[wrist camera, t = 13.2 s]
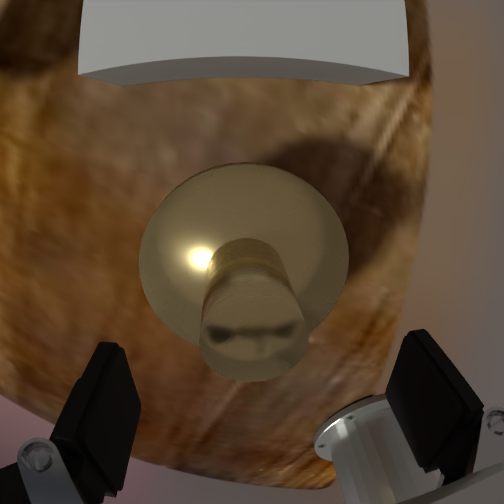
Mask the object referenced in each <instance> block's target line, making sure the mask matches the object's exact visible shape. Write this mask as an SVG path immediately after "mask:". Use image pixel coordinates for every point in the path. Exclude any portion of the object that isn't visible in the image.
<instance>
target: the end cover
mask: <svg viewBox="0 0 504 504" xmlns="http://www.w3.org/2000/svg"><path fill="white" fill-rule="evenodd" d="M348 265H349V250H348V243H347V238H346V234H345V231H344V228H343V226H342V223H341V221H340V219H339V217H338V215H337V214H336V212H335V210H334V209H333V207H332V206H331V205H330V204H329V202H328V201H327V200H326V199H325V198H324V197H323V196H322V195H321V194H320V193H319V192H318V191H317V190H316V189H315V188H314V187H312V186H311V185H310V184H308V183H307V182H306V181H304V180H303V179H301V178H300V177H298V176H296V175H294V174H292V173H291V172H289V171H287V170H284V169H281V168H278V167H275V166H272V165H267V164H261V163H251V162H239V163H228V164H224V165H219V166H215V167H212V168H209V169H206V170H204V171H201V172H199V173H197V174H195V175H193V176H192V177H190V178H188V179H186V180H185V181H184V182H182V183H181V184H180V185H178V186H177V187H176V188H175V189H174V190H173V191H172V192H171V193H170V194H169V195H168V196H167V197H166V198H165V199H164V200H163V202H162V203H161V204H160V206H159V207H158V208H157V210H156V211H155V212H154V214H153V215H152V217H151V219H150V221H149V223H148V225H147V227H146V229H145V232H144V235H143V238H142V242H141V247H140V252H139V272H140V279H141V283H142V287H143V290H144V293H145V295H146V298H147V300H148V302H149V304H150V306H151V307H152V309H153V311H154V312H155V313H156V315H157V316H158V317H159V319H160V320H161V321H162V322H163V323H164V324H165V325H166V326H167V327H168V328H169V329H170V330H171V331H173V332H174V333H175V334H176V335H178V336H179V337H181V338H182V339H184V340H186V341H187V342H189V343H191V344H193V345H195V346H198V347H199V348H200V352H201V355H202V357H203V359H204V360H205V362H206V363H207V364H208V366H209V367H210V368H211V369H213V370H214V371H215V372H217V373H218V374H220V375H222V376H224V377H226V378H229V379H232V380H237V381H243V382H257V381H264V380H269V379H272V378H275V377H277V376H280V375H282V374H284V373H285V372H287V371H289V370H290V369H291V368H292V367H294V366H295V365H296V364H297V363H298V362H299V361H300V359H301V358H302V357H303V355H304V353H305V351H306V348H307V345H308V337H309V336H308V334H309V333H310V332H311V331H313V330H314V329H315V328H316V327H317V326H318V325H319V324H321V323H322V321H323V320H324V319H325V318H326V317H327V316H328V315H329V313H330V312H331V311H332V309H333V308H334V306H335V305H336V303H337V301H338V299H339V297H340V295H341V293H342V291H343V288H344V285H345V282H346V278H347V273H348Z"/></svg>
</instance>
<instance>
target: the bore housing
mask: <svg viewBox="0 0 504 504" xmlns="http://www.w3.org/2000/svg"><path fill="white" fill-rule="evenodd" d="M78 75H81V76H85V77H89V78H93V79H97V80H101V81H105V82H109V83H112V84H116V85H119V86H127V85H134V84H141V83H150V82H159V81H169V80H181V79H196V78H221V77H262V78H286V79H302V80H314V81H324V82H333V83H341V84H349V85H356V86H359V85H364V84H369V83H374V82H379V81H385V80H391V79H397V78H403V77H409V53H408V34H407V21H406V10H405V1H404V0H84V2H83V10H82V19H81V29H80V42H79V59H78Z"/></svg>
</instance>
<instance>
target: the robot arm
mask: <svg viewBox="0 0 504 504" xmlns="http://www.w3.org/2000/svg"><path fill="white" fill-rule="evenodd" d="M483 407H484V405H483V403H482V402H481V401H480V399H479V398H478V396H477V395H476V394H475V392H474V391H473V390H472V388H471V387H470V386H469V384H468V383H467V381H466V380H465V379H464V377H463V376H462V375H461V373H460V372H459V371H458V369H457V368H456V367H455V366H454V364H453V363H452V362H451V360H450V359H449V358H448V357H447V355H446V354H445V353H444V351H443V350H442V349H441V348H440V347H439V345H438V344H437V343H436V342H435V340H434V339H433V338H432V337H431V335H430V334H429V333H428V332H427V331H426V330H425V329H420V330H413V331H410V332H409V333H408V334H407V336H405V337H404V339H403V342H402V344H401V348H400V351H399V354H398V357H397V360H396V363H395V366H394V369H393V371H392V374H391V377H390V380H389V382H388V385H387V388H386V392H385V393H384V394H380V395H375V396H372V397H369V398H366V399H363V400H361V401H359V402H356V403H354V404H352V405H350V406H348V407H346V408H344V409H343V410H341V411H340V412H338V413H336V414H335V415H333V416H332V417H331V418H330V419H328V420H327V421H326V422H325V423H324V424H323V425H322V426H321V427H320V428H319V430H318V431H317V433H316V434H315V437H314V440H313V443H314V448H315V451H316V453H317V455H318V456H319V457H321V458H323V459H326V460H329V461H333V464H334V467H335V471H336V475H337V478H338V481H339V485H340V489H341V492H342V496H343V499H344V504H504V408H502V407H491V408H489V409H487V410H486V411H485V413H484V411H483V410H482V409H483ZM140 413H141V402H140V399H139V396H138V393H137V390H136V387H135V384H134V381H133V378H132V375H131V371H130V368H129V365H128V362H127V358H126V355H125V351H124V349H123V348H122V347H119V345H118V344H117V343H112V342H100V343H99V344H98V346H97V348H96V350H95V352H94V353H93V355H92V357H91V359H90V361H89V363H88V365H87V367H86V369H85V371H84V373H83V375H82V377H81V378H80V379H78V380H77V381H76V383H75V385H74V387H73V389H72V391H71V393H70V395H69V397H68V399H67V401H66V403H65V406H64V408H63V410H62V412H61V414H60V416H59V418H58V421H57V423H56V425H55V427H54V430H53V432H52V434H51V436H50V439H49V440H48V439H45V438H34V439H30V440H28V441H27V442H25V443H24V444H23V445H22V446H21V447H20V449H19V451H18V455H17V462H16V463H14V464H11V465H9V466H6V467H4V468H1V469H0V504H102V503H103V500H104V496H110V497H116V495H117V491H121V490H122V488H123V485H124V480H125V475H126V471H127V466H128V462H129V458H130V453H131V449H132V445H133V441H134V437H135V433H136V429H137V425H138V421H139V417H140ZM438 468H439V469H440V471H441V475H440V478H439V479H438V477H437V475H436V473H435V471H434V470H437V469H438Z"/></svg>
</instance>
